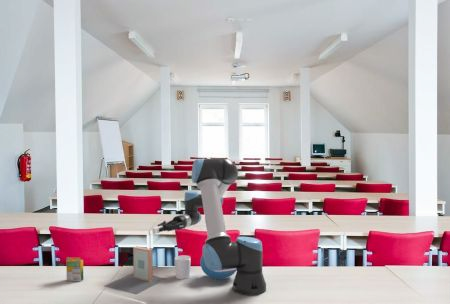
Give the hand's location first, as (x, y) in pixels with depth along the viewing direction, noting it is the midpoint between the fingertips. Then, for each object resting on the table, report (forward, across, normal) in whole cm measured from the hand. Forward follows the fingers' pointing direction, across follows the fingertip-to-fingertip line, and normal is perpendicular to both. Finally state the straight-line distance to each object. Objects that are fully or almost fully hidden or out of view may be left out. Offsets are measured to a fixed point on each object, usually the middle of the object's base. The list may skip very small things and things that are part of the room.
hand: (153, 231), depth 199 cm
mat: (+14, 0, -22) cm, 26 cm away
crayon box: (+25, +29, -22) cm, 44 cm away
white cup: (-3, -15, -22) cm, 27 cm away
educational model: (-12, -31, -22) cm, 40 cm away
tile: (+9, 0, -22) cm, 23 cm away
